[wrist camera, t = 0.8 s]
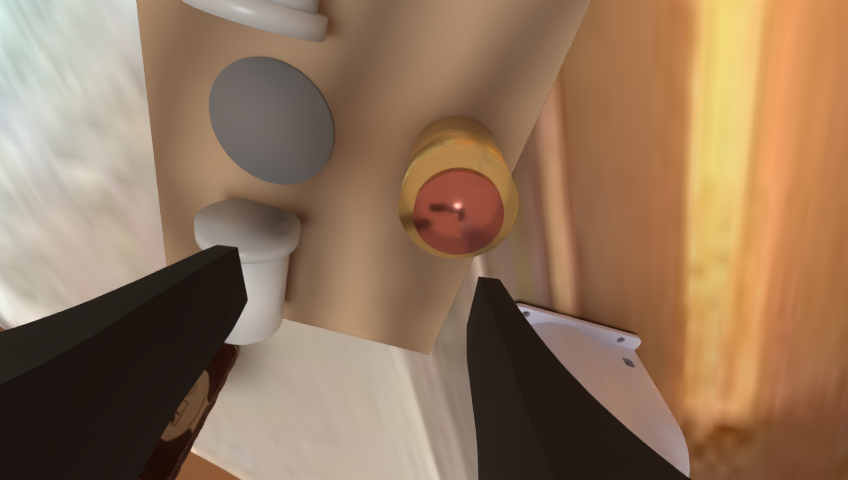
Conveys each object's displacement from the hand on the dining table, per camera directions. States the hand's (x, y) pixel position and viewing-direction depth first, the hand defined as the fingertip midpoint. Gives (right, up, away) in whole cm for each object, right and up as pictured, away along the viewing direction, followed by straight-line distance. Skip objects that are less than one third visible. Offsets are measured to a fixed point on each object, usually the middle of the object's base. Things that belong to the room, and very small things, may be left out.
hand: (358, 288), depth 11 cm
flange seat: (-5, +7, +6) cm, 11 cm away
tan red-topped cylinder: (+4, +5, +7) cm, 9 cm away
